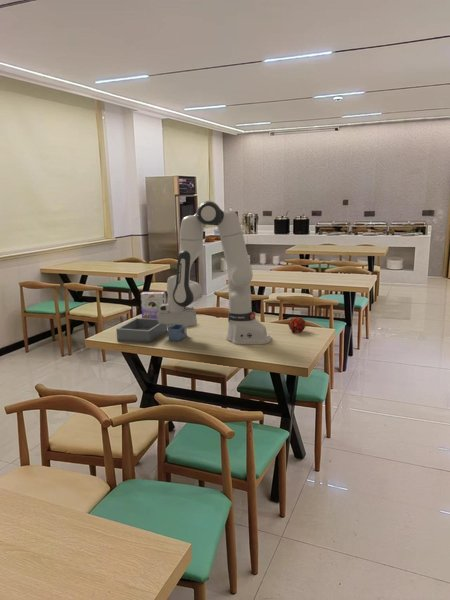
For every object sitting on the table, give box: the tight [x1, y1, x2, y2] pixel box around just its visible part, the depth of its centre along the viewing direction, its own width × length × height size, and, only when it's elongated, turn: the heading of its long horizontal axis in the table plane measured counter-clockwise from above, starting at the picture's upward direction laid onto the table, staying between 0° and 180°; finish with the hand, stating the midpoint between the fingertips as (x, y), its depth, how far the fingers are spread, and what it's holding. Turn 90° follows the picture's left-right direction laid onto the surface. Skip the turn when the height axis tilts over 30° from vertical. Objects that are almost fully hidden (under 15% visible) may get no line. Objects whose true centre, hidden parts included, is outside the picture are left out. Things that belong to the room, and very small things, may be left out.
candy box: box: [139, 291, 167, 319], centre depth 273 cm, size 14×6×16 cm, turn 84°
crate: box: [116, 317, 168, 344], centre depth 244 cm, size 18×22×6 cm
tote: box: [167, 325, 188, 342], centre depth 239 cm, size 6×10×6 cm, turn 164°
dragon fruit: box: [288, 316, 307, 334], centre depth 246 cm, size 8×8×12 cm
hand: (177, 332), depth 239 cm, fingers closed on tote, 6 cm apart
